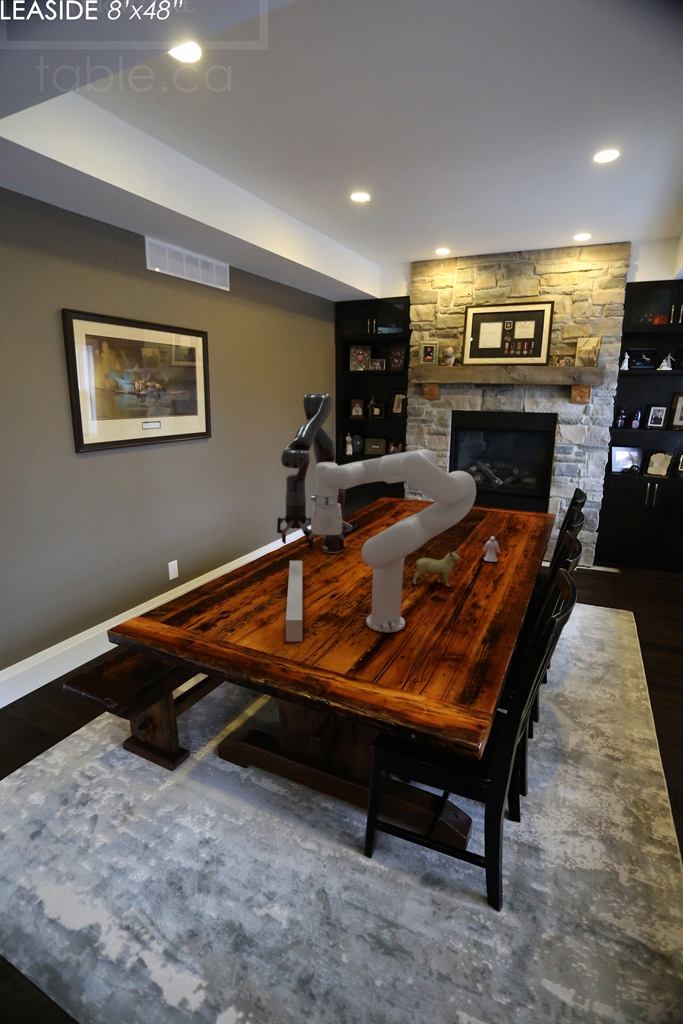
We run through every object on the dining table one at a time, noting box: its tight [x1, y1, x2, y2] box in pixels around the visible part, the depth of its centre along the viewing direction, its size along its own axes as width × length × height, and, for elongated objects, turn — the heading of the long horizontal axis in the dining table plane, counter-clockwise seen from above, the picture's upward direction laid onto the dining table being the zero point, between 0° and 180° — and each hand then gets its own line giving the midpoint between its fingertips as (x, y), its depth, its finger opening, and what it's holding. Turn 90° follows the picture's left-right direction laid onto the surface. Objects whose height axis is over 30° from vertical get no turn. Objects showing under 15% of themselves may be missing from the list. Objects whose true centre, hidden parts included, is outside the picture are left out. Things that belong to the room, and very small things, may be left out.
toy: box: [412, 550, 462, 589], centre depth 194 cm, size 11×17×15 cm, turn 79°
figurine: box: [482, 535, 501, 563], centre depth 223 cm, size 8×8×12 cm
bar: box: [285, 560, 303, 643], centre depth 175 cm, size 52×5×7 cm, turn 4°
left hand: (295, 543), depth 193 cm, fingers open, 8 cm apart
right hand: (326, 549), depth 168 cm, fingers open, 9 cm apart
